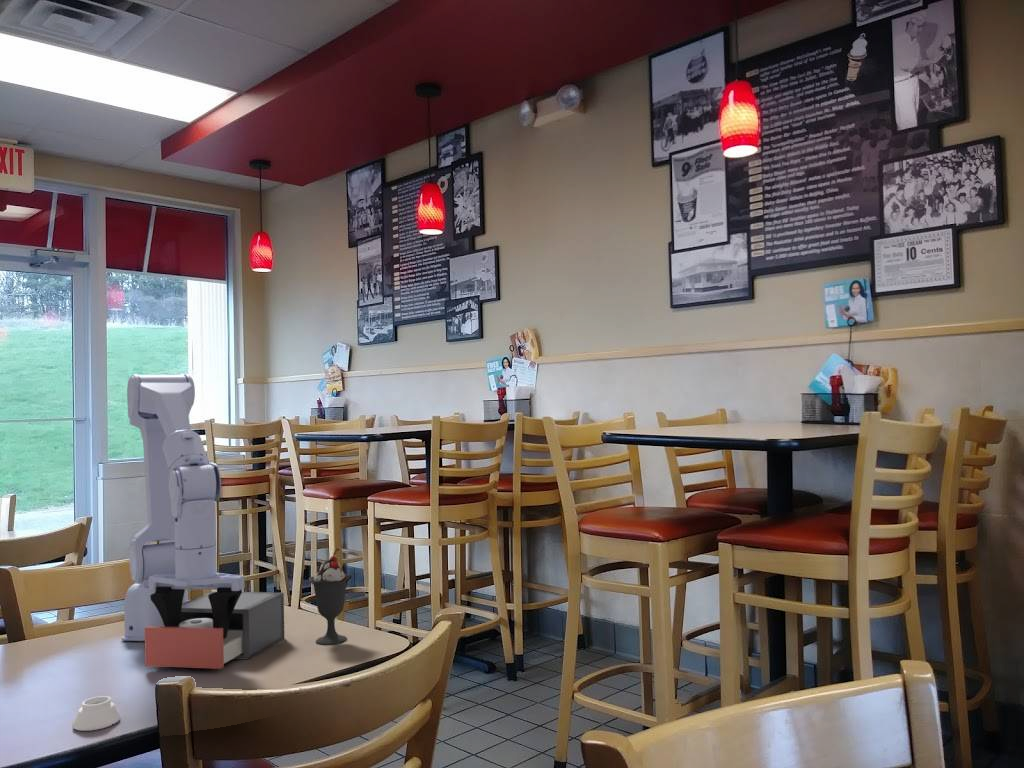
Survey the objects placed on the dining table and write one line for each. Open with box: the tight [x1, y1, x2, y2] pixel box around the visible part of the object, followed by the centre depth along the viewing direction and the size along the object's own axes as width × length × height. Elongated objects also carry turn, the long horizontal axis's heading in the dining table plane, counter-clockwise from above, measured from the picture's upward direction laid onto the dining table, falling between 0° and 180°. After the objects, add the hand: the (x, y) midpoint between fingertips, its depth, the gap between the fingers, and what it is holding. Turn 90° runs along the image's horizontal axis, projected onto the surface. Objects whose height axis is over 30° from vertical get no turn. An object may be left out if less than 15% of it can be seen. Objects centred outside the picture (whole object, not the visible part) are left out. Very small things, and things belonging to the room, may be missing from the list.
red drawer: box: [144, 626, 243, 670], centre depth 119 cm, size 12×11×6 cm
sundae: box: [308, 547, 352, 646], centre depth 128 cm, size 7×7×15 cm
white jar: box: [72, 695, 121, 732], centre depth 96 cm, size 5×3×5 cm
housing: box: [181, 591, 285, 660], centre depth 126 cm, size 13×11×7 cm
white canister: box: [179, 618, 213, 628], centre depth 117 cm, size 5×5×5 cm
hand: (197, 638), depth 118 cm, fingers open, 7 cm apart
